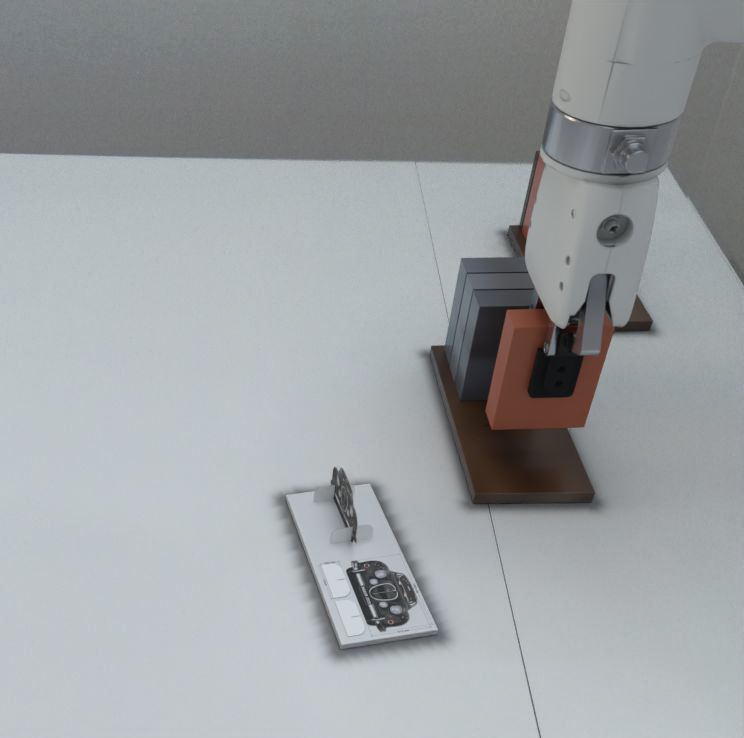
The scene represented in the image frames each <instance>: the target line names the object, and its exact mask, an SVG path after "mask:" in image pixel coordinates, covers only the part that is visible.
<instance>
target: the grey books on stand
mask: <svg viewBox="0 0 744 738" xmlns="http://www.w3.org/2000/svg"><path fill="white" fill-rule="evenodd" d="M533 290H534V284H533V282H532V279H531V277H530V275H529V272H528V270H527V267H526V262H525V257H518V256H505V257H503V256H502V257H501V256H500V257H499V256H498V257H461V258H460V262H459V267H458V273H457V279H456V284H455V289H454V295H453V298H452V299H453V300H452V305H451V311H450V315H449V321H448V327H447V332H446V336H445V343H444V345H441V344H440V345H439V344H438V345H435V344H433V345H431V346H430V350H429V356H430V360H431V364H432V367H433V371H434V374H435V377H436V381H437V385H438V387H439V391H440V395H441V398H442V401H443V406H444V407H445V408H444V409H445V412H446V415H447V418H448V423H449V425H450V429H451V431H452V432H451V433H452V435H453V440H454V443H455V447H456V449H457V452H458V456H459V460H460V464H461V466H462V470H463V473H464V477H465V480H466V484H467V487H468V490H469V494H470V497H471V501H472V504H532V503H533V504H537V503H538V504H540V503H541V504H544V503H545V504H547V503H548V504H549V503H550V504H553V503H555V504H556V503H592V502H593V501H594V498H595V494H596V491H595V489H594V487H593V484H592V481H591V480H590V478H589V474H588V473H587V470H586V469H585V466H584V463H583V462H582V459H581V456H580V454H579V452H578V449H577V447H576V445H575V443H574V441H573V438H572V436H571V433H570V431H569V428H545V429H505V430H492V429H491V426H490V423H489V420H488V417H487V414H486V411H485V410H486V406H487V401H488V396H489V392H490V387H491V382H492V378H493V373H494V368H495V364H496V359H497V354H498V350H499V345H500V340H501V336H502V331H503V326H504V322H505V317H506V312H507V310H518V309H529V306H530V302H531V298H532V294H533Z"/></svg>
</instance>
